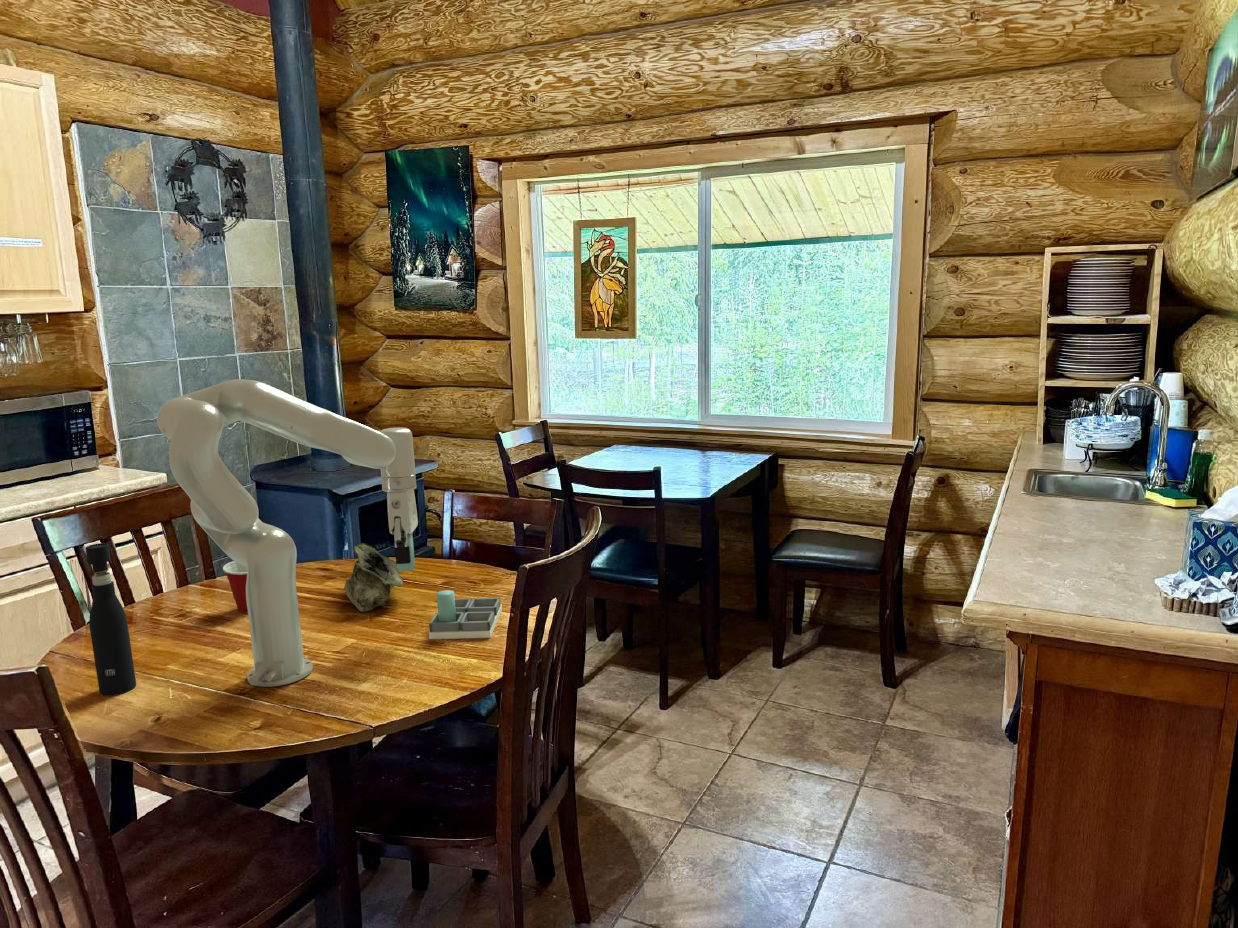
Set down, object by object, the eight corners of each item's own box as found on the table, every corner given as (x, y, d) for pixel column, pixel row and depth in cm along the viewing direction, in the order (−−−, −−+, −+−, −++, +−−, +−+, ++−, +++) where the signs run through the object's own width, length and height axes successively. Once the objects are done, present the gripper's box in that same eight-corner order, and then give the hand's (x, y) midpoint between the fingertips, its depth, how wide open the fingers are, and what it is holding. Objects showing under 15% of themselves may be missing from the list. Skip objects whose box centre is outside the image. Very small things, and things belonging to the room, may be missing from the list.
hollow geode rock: (374, 596, 233) (332, 562, 229) (406, 562, 234) (364, 528, 230) (367, 629, 206) (319, 592, 202) (403, 591, 206) (356, 553, 203)
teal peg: (413, 570, 189) (410, 536, 188) (395, 571, 189) (392, 537, 188) (416, 565, 193) (413, 532, 192) (398, 566, 193) (396, 533, 192)
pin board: (490, 637, 188) (488, 597, 187) (429, 639, 189) (426, 599, 187) (502, 609, 206) (500, 572, 204) (446, 610, 206) (443, 574, 204)
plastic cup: (242, 619, 204) (236, 573, 202) (219, 611, 211) (214, 565, 209) (282, 606, 213) (277, 561, 211) (259, 598, 219) (255, 555, 217)
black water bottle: (129, 678, 172) (108, 539, 167) (141, 687, 168) (121, 544, 163) (94, 690, 167) (72, 547, 162) (106, 698, 163) (84, 552, 158)
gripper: (409, 489, 179) (415, 570, 183) (421, 474, 196) (427, 549, 199) (373, 491, 179) (381, 572, 182) (389, 476, 195) (396, 550, 199)
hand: (405, 559), depth 191 cm, fingers closed on teal peg, 4 cm apart
